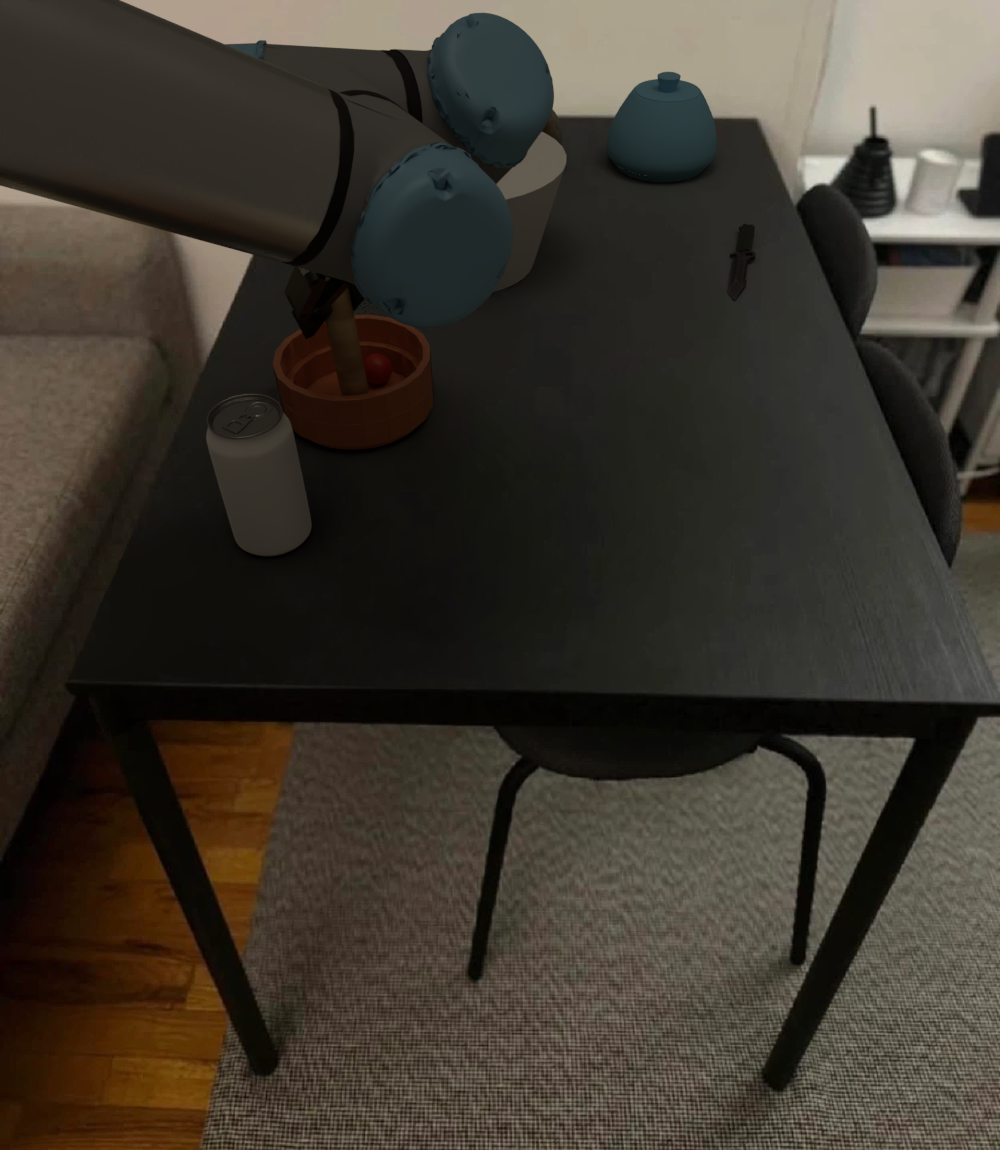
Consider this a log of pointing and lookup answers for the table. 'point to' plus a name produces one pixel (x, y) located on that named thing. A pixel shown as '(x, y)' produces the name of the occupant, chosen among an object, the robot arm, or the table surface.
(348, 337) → the stick
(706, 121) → the sugar bowl
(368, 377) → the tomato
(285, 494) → the can
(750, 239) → the knife
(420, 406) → the stir bowl
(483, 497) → the table surface
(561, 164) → the grey tapered cylinder
